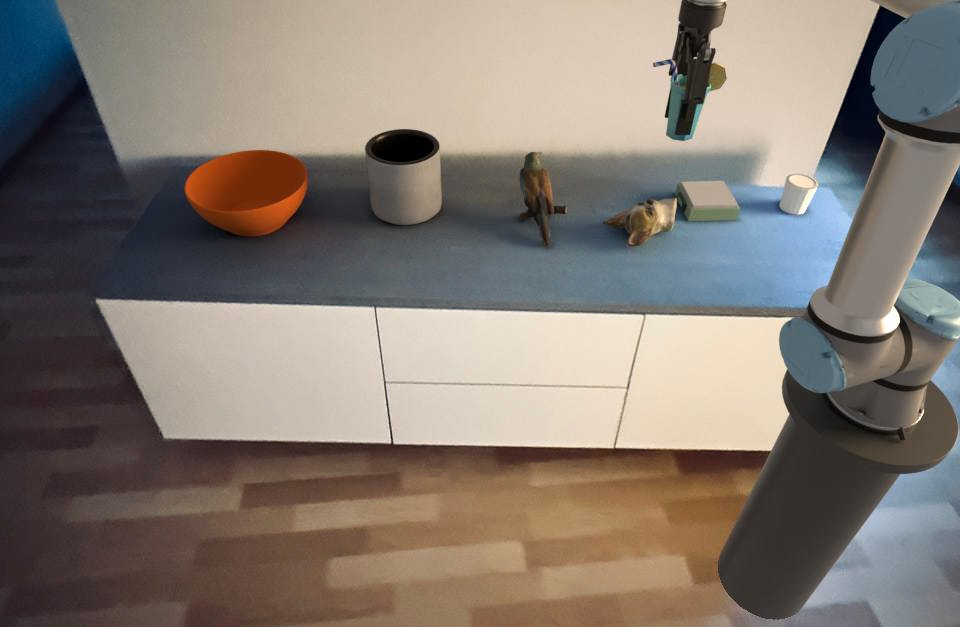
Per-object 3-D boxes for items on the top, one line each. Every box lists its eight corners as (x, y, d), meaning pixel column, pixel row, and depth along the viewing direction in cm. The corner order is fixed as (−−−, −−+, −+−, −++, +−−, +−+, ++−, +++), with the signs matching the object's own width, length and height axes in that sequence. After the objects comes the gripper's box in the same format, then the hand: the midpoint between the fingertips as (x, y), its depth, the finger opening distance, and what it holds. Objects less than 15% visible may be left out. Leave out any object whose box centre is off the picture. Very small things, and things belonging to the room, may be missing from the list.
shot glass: (800, 199, 157) (810, 172, 152) (813, 215, 152) (824, 188, 147) (771, 199, 157) (781, 173, 152) (783, 216, 151) (793, 189, 147)
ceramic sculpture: (693, 204, 139) (631, 224, 135) (686, 238, 144) (626, 258, 140) (662, 179, 146) (602, 198, 142) (657, 213, 152) (599, 231, 148)
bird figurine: (575, 245, 141) (571, 147, 137) (528, 248, 140) (523, 150, 137) (561, 240, 154) (557, 150, 150) (518, 243, 153) (513, 153, 150)
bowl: (336, 221, 148) (330, 181, 142) (230, 268, 136) (218, 227, 129) (278, 176, 162) (270, 138, 155) (177, 215, 149) (163, 175, 143)
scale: (736, 220, 150) (741, 205, 148) (684, 221, 150) (688, 206, 147) (721, 193, 158) (725, 179, 156) (671, 194, 158) (675, 180, 155)
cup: (646, 146, 128) (660, 68, 118) (634, 127, 133) (647, 51, 123) (716, 142, 129) (737, 65, 119) (701, 124, 135) (720, 48, 125)
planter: (456, 209, 152) (456, 147, 142) (400, 237, 144) (394, 173, 134) (413, 181, 161) (409, 120, 150) (357, 206, 153) (349, 143, 142)
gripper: (667, -18, 121) (645, 103, 137) (701, 19, 107) (672, 150, 123) (708, -19, 122) (681, 103, 137) (747, 18, 108) (712, 149, 123)
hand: (677, 125), depth 130 cm, fingers closed on cup, 6 cm apart
